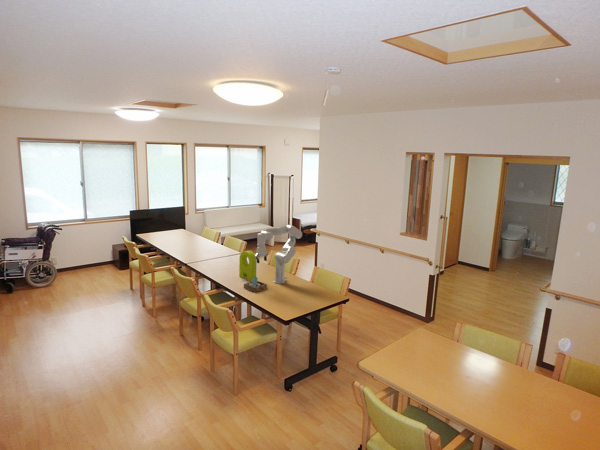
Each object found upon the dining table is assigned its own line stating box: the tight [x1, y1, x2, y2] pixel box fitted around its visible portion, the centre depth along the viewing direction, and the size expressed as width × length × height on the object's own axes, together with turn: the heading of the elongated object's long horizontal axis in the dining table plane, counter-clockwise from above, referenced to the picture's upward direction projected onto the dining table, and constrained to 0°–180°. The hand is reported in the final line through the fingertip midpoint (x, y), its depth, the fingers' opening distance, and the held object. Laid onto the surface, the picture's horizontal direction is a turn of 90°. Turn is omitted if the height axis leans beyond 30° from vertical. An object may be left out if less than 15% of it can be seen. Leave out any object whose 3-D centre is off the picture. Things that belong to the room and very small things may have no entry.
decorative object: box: [238, 250, 258, 282], centre depth 397 cm, size 20×7×30 cm, turn 47°
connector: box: [251, 276, 259, 286], centre depth 371 cm, size 4×4×11 cm
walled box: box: [243, 280, 268, 293], centre depth 371 cm, size 16×16×4 cm
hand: (261, 261), depth 373 cm, fingers open, 9 cm apart
